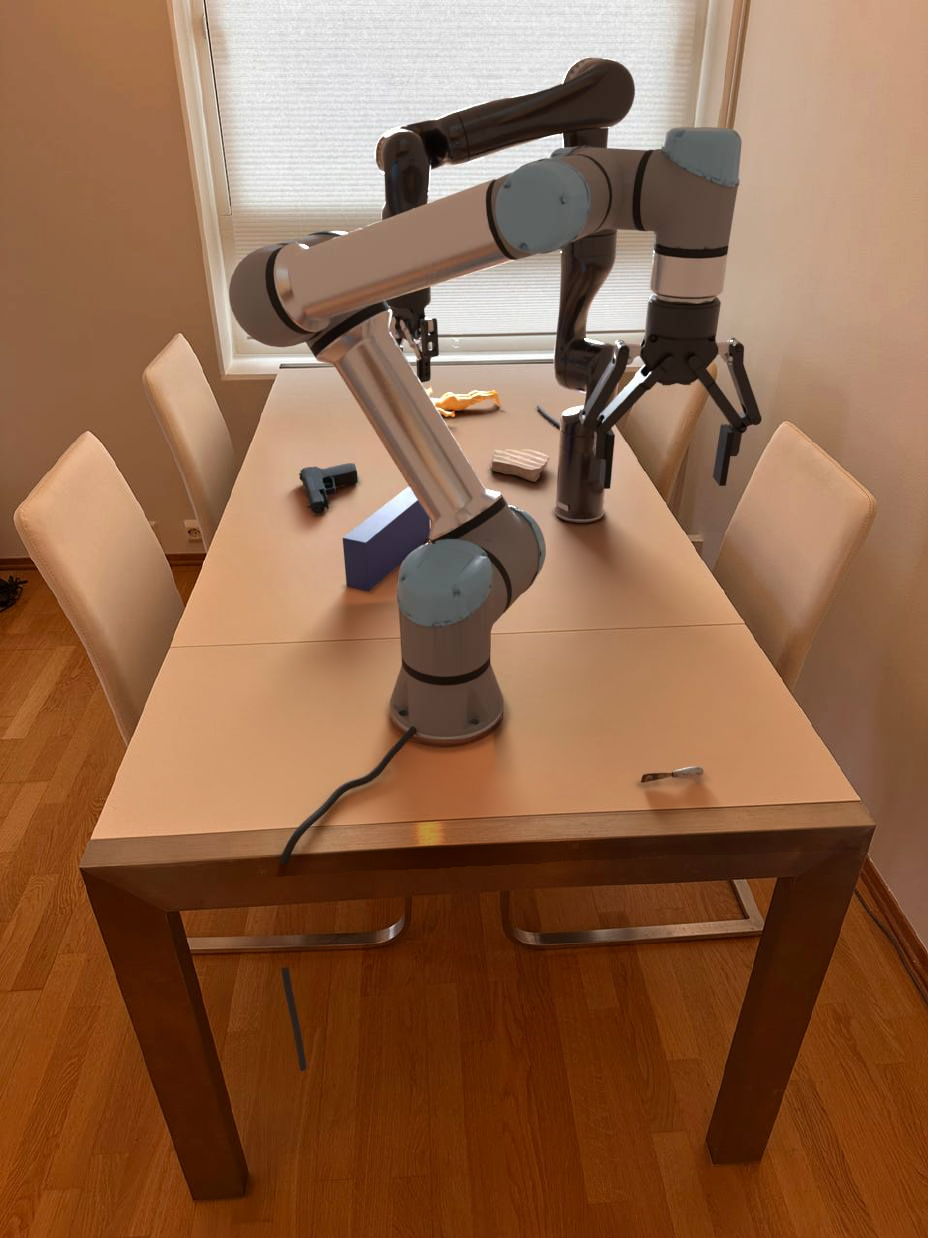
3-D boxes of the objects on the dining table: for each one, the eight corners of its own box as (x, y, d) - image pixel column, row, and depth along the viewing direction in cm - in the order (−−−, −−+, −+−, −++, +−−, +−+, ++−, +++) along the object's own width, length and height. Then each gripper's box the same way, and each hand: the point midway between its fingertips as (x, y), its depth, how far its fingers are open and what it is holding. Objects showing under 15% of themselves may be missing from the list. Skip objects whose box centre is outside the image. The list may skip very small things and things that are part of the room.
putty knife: (703, 777, 109) (705, 767, 109) (642, 788, 108) (644, 777, 107) (700, 772, 110) (702, 762, 109) (639, 782, 109) (640, 771, 108)
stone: (554, 462, 195) (554, 451, 194) (536, 482, 186) (537, 471, 185) (499, 454, 200) (499, 444, 198) (479, 474, 190) (479, 463, 189)
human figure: (395, 413, 223) (394, 398, 221) (438, 390, 237) (438, 375, 235) (462, 429, 215) (462, 413, 213) (502, 404, 229) (503, 388, 227)
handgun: (369, 509, 176) (308, 516, 174) (354, 474, 190) (298, 480, 188) (368, 494, 174) (307, 501, 172) (353, 460, 189) (296, 466, 186)
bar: (369, 592, 149) (365, 542, 144) (346, 586, 150) (342, 537, 145) (430, 536, 166) (429, 490, 161) (409, 532, 168) (407, 486, 163)
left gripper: (788, 285, 97) (756, 467, 109) (561, 289, 96) (552, 472, 108) (815, 301, 91) (777, 493, 102) (572, 305, 90) (561, 498, 101)
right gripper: (451, 277, 138) (452, 381, 146) (403, 263, 148) (407, 361, 156) (409, 283, 134) (413, 390, 143) (363, 268, 144) (369, 368, 153)
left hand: (662, 483), depth 105 cm, fingers open, 13 cm apart
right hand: (410, 375), depth 149 cm, fingers open, 8 cm apart
